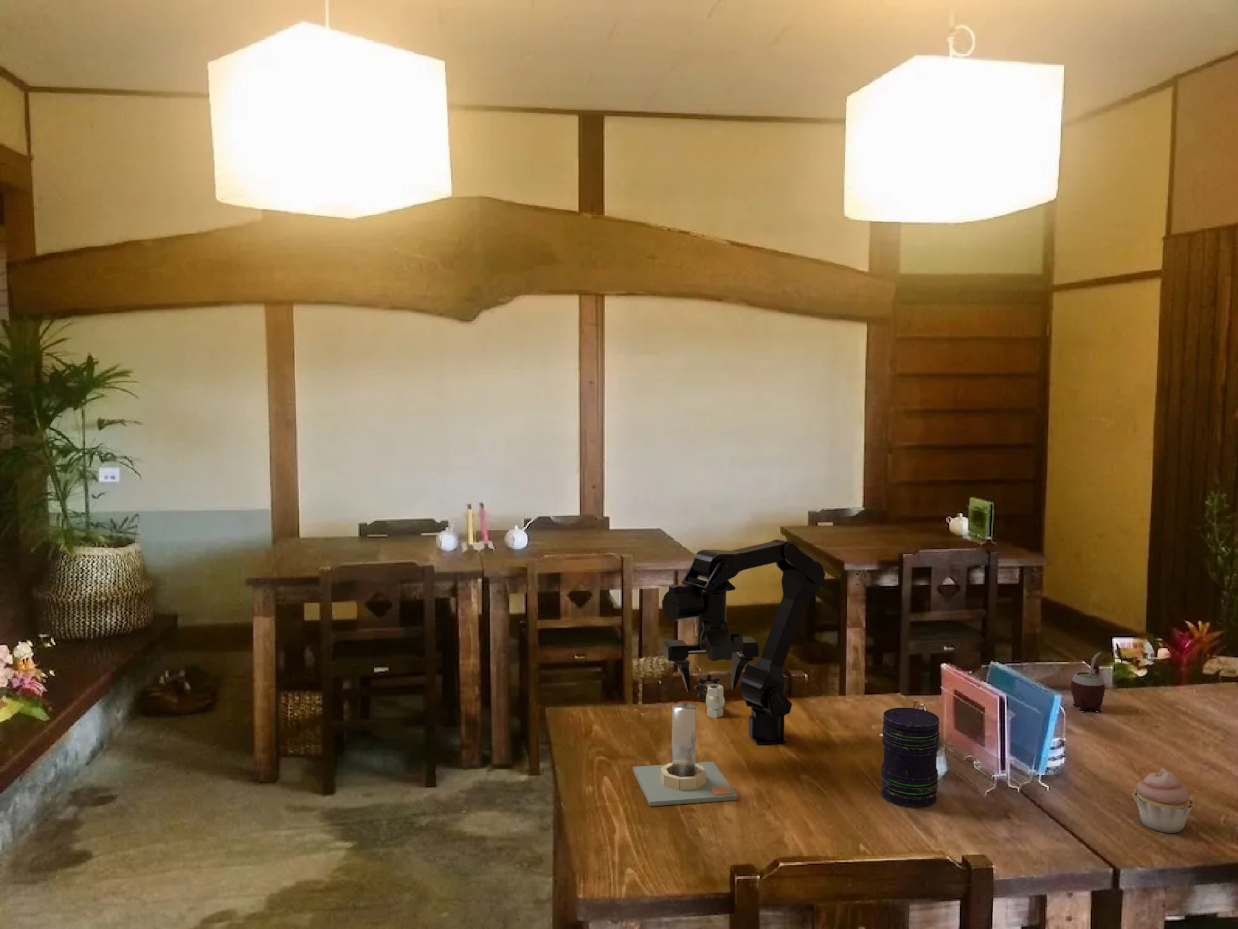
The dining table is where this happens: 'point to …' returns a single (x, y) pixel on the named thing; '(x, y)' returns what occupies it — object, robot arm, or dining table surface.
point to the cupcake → (1163, 802)
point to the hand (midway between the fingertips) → (710, 690)
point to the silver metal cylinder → (684, 740)
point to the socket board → (683, 785)
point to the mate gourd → (1088, 689)
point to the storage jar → (910, 757)
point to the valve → (712, 695)
